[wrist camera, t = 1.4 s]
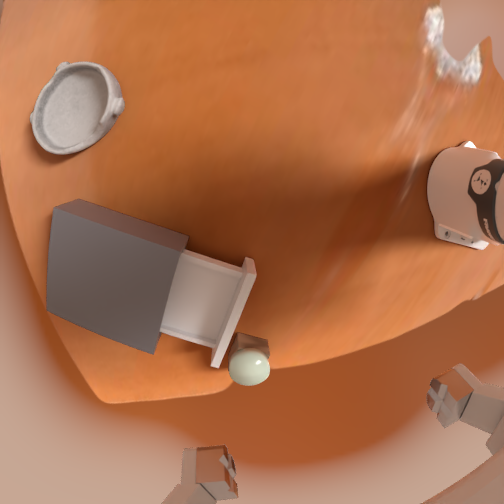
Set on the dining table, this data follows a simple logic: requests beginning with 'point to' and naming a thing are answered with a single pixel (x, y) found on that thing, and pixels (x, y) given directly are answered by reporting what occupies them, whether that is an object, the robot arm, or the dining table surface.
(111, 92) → the dish
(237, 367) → the pale green disc
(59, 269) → the grey drawer cabinet
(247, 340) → the walnut block
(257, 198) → the dining table surface
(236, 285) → the white drawer
